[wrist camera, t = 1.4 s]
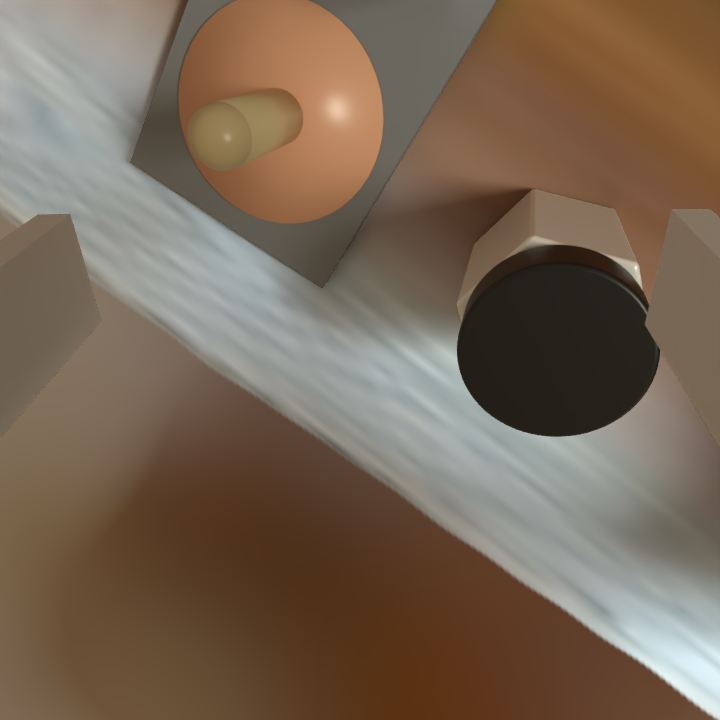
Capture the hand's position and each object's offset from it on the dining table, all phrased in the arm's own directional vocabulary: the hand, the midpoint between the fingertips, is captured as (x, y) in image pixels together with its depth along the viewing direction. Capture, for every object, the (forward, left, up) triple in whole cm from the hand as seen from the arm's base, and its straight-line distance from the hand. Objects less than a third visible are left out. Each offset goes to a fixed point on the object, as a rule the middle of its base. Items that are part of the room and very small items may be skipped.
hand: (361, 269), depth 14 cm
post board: (+6, -7, -23) cm, 25 cm away
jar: (-6, +7, -24) cm, 25 cm away
